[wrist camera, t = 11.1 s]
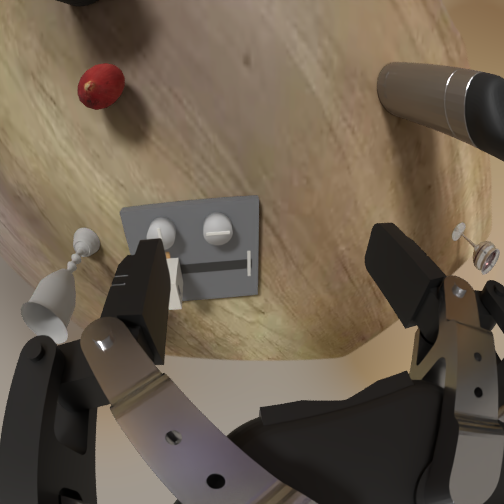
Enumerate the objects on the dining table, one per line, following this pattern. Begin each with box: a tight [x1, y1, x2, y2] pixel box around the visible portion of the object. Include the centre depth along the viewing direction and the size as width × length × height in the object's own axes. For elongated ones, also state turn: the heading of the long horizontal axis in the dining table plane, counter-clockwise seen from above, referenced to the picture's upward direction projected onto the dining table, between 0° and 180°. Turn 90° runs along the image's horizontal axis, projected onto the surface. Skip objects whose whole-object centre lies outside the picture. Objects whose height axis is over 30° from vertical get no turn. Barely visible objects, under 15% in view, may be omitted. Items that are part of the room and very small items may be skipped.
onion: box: [78, 63, 125, 110], centre depth 23 cm, size 6×6×8 cm
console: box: [120, 195, 259, 301], centre depth 41 cm, size 20×18×4 cm
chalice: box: [21, 228, 100, 343], centre depth 31 cm, size 7×7×18 cm
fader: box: [166, 258, 183, 310], centre depth 40 cm, size 2×5×6 cm, turn 1°
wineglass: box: [452, 223, 500, 274], centre depth 45 cm, size 7×7×12 cm
